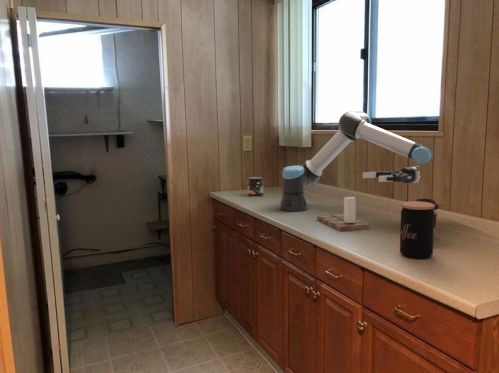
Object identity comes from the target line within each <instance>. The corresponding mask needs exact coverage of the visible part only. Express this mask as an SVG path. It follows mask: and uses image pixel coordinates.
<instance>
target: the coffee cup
mask: <svg viewBox="0 0 499 373" xmlns="http://www.w3.org/2000/svg"><path fill="white" fill-rule="evenodd" d="M415 201H419V202H428V203H432V204H434V205H435V207H434V209H433V211H434V231H436V229H435V228H436V226H437V216H438V212H437V211H438V209H439V208H440V206H439V204H438V203H436V201H435V200H434V199H431V198H418V199H417V198H416V199H415ZM434 236H435V235H434ZM434 236H433V238H434Z"/></svg>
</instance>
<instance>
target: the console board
mask: <svg viewBox="0 0 499 373" xmlns="http://www.w3.org/2000/svg"><path fill="white" fill-rule="evenodd" d="M316 217H317V218H316V220H317V221H319V222H321V223H323V224H324V225H327V226H329V227H331V228H333V229H335V230H337V231H339V232H349V231H360V230H369V229H370V227H371V226H370V223H368V222H365V221H362V220H360V219H358V218H356V217H355V223H346V222H344V213H334V214H322V215H317V216H316Z"/></svg>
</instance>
